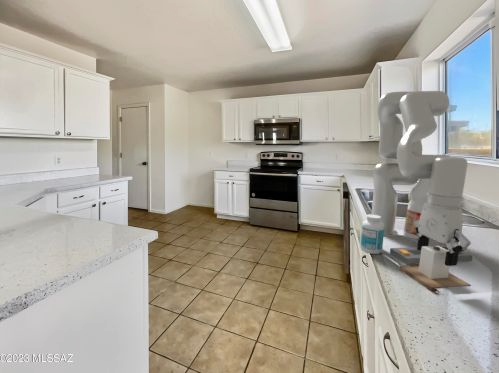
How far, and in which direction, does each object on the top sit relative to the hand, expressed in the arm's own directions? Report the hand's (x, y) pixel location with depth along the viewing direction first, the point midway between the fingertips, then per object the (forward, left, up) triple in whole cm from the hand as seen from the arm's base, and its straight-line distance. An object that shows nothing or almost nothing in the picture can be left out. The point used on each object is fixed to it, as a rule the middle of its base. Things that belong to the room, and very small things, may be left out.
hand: (435, 257), depth 72 cm
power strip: (-11, +9, -7) cm, 16 cm away
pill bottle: (-20, -7, -7) cm, 22 cm away
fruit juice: (-30, +20, -7) cm, 37 cm away
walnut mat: (0, 0, -7) cm, 7 cm away
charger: (0, 0, -6) cm, 6 cm away
